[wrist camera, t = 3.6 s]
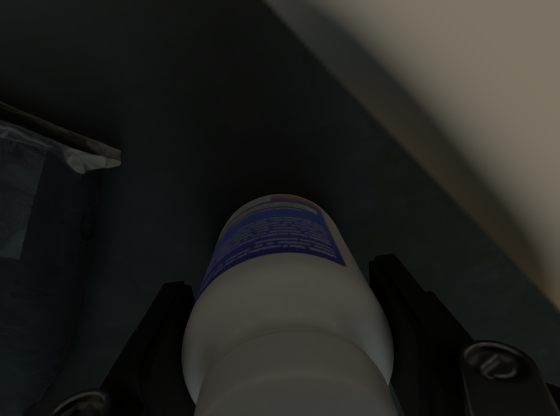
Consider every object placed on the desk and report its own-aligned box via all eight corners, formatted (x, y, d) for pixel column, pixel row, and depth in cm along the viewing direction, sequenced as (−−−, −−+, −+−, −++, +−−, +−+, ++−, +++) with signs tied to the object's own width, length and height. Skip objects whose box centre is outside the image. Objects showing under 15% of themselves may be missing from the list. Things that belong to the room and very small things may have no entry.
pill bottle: (193, 253, 16) (73, 478, 6) (278, 163, 15) (286, 271, 5) (283, 326, 17) (296, 610, 7) (368, 248, 16) (509, 461, 6)
